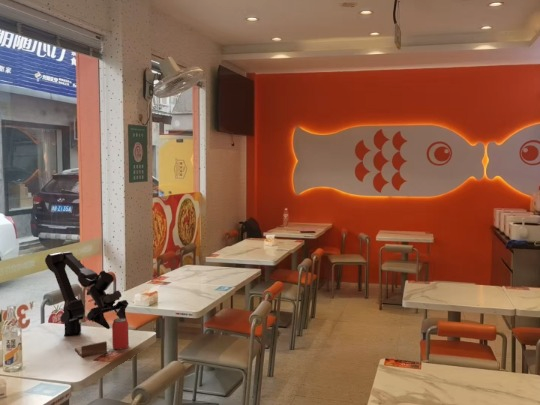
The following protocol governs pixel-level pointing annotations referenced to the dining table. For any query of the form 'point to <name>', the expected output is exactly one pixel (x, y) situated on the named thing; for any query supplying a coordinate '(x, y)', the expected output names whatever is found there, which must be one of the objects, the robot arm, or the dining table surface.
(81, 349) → the walnut backstop pad
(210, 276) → the dining table surface
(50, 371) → the dining table surface
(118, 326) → the beer can
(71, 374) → the dining table surface
